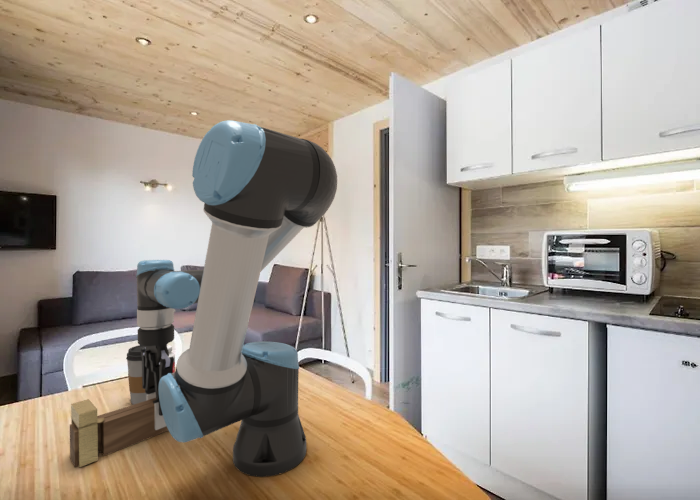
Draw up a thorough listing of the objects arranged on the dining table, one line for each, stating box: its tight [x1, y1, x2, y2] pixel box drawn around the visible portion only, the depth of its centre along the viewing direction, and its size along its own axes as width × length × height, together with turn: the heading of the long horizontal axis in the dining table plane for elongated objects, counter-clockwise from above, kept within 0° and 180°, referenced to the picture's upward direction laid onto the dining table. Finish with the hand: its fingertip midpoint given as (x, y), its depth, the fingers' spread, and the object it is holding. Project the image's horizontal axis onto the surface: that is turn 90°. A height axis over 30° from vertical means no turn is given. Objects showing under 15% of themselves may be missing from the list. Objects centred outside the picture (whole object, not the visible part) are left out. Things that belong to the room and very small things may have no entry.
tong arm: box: [100, 403, 169, 457], centre depth 79 cm, size 2×16×7 cm, turn 139°
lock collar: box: [70, 398, 99, 468], centre depth 71 cm, size 7×3×10 cm, turn 49°
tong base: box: [69, 398, 156, 468], centre depth 78 cm, size 4×21×7 cm, turn 139°
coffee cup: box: [125, 344, 148, 405], centre depth 96 cm, size 8×8×15 cm
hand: (157, 423), depth 82 cm, fingers open, 4 cm apart
